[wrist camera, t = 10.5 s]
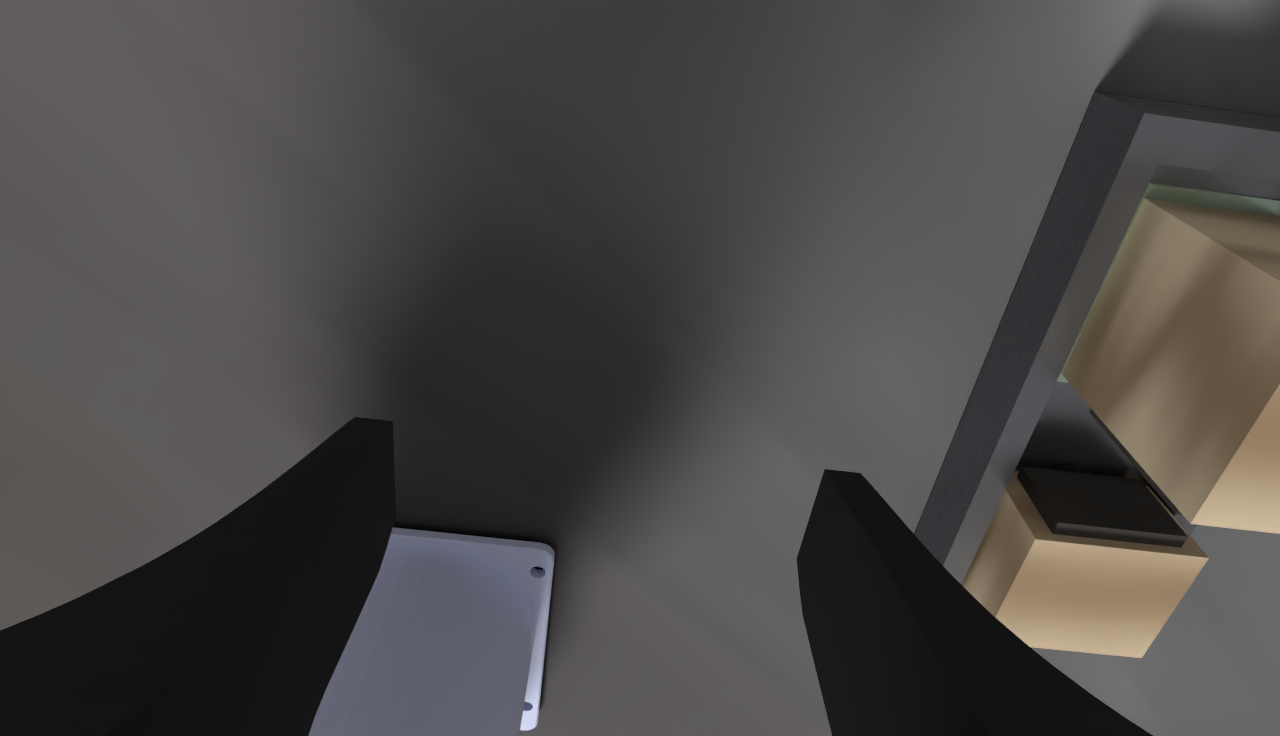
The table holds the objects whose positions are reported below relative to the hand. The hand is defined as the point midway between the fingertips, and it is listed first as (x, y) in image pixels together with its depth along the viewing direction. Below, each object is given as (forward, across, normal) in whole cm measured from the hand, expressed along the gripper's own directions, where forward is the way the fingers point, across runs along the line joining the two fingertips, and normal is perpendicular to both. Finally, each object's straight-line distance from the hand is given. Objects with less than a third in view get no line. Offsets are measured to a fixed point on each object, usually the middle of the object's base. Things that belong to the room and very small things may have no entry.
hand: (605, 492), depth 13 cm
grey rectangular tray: (+9, -14, +2) cm, 17 cm away
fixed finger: (+8, -14, +6) cm, 18 cm away
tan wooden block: (+8, -14, -1) cm, 16 cm away
